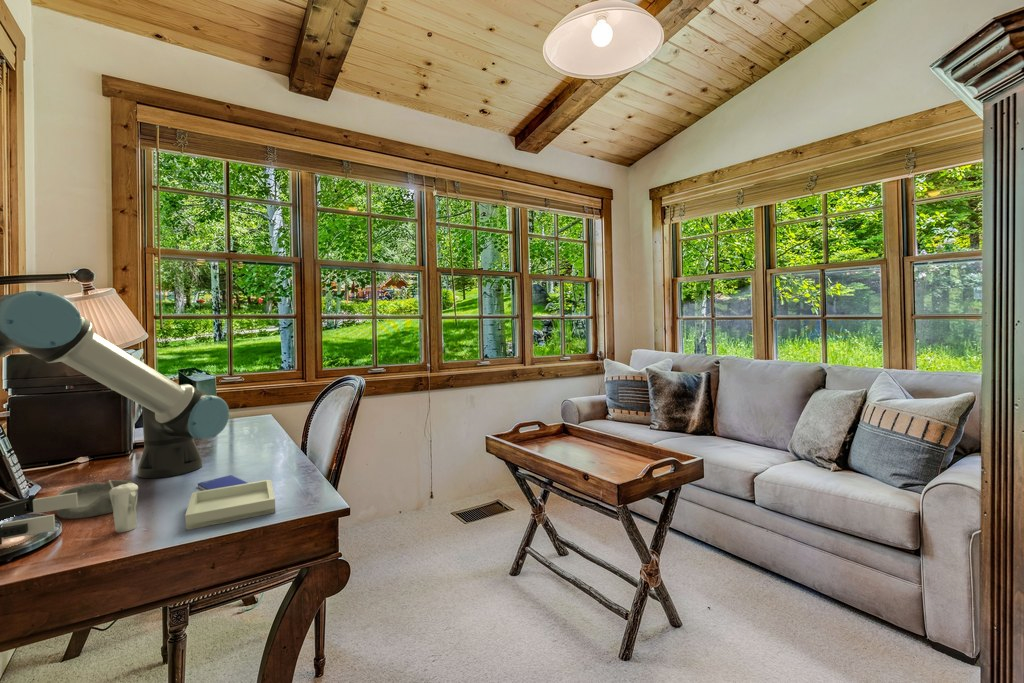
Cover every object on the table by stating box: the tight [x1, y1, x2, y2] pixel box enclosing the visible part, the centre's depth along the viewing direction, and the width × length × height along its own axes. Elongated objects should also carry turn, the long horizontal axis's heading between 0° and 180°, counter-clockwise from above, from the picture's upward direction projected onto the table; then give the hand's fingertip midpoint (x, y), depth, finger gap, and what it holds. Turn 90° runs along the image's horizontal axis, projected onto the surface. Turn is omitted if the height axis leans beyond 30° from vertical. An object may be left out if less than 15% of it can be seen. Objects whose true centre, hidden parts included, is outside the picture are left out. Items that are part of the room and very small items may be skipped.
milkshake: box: [108, 479, 139, 533], centre depth 96 cm, size 4×5×10 cm
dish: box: [55, 479, 134, 520], centre depth 109 cm, size 14×14×5 cm
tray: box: [184, 479, 276, 531], centre depth 106 cm, size 16×16×3 cm
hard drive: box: [197, 474, 248, 491], centre depth 122 cm, size 2×8×12 cm
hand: (66, 510), depth 92 cm, fingers open, 13 cm apart
